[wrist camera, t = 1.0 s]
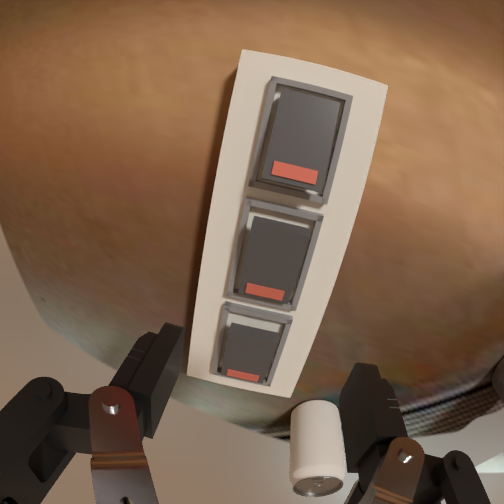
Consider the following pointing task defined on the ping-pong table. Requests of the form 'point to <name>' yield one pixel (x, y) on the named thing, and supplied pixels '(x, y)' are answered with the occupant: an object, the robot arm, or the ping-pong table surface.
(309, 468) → the can
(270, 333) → the rocker
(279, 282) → the rocker
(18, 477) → the robot arm
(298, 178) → the rocker
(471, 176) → the ping-pong table surface
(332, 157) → the switch panel
